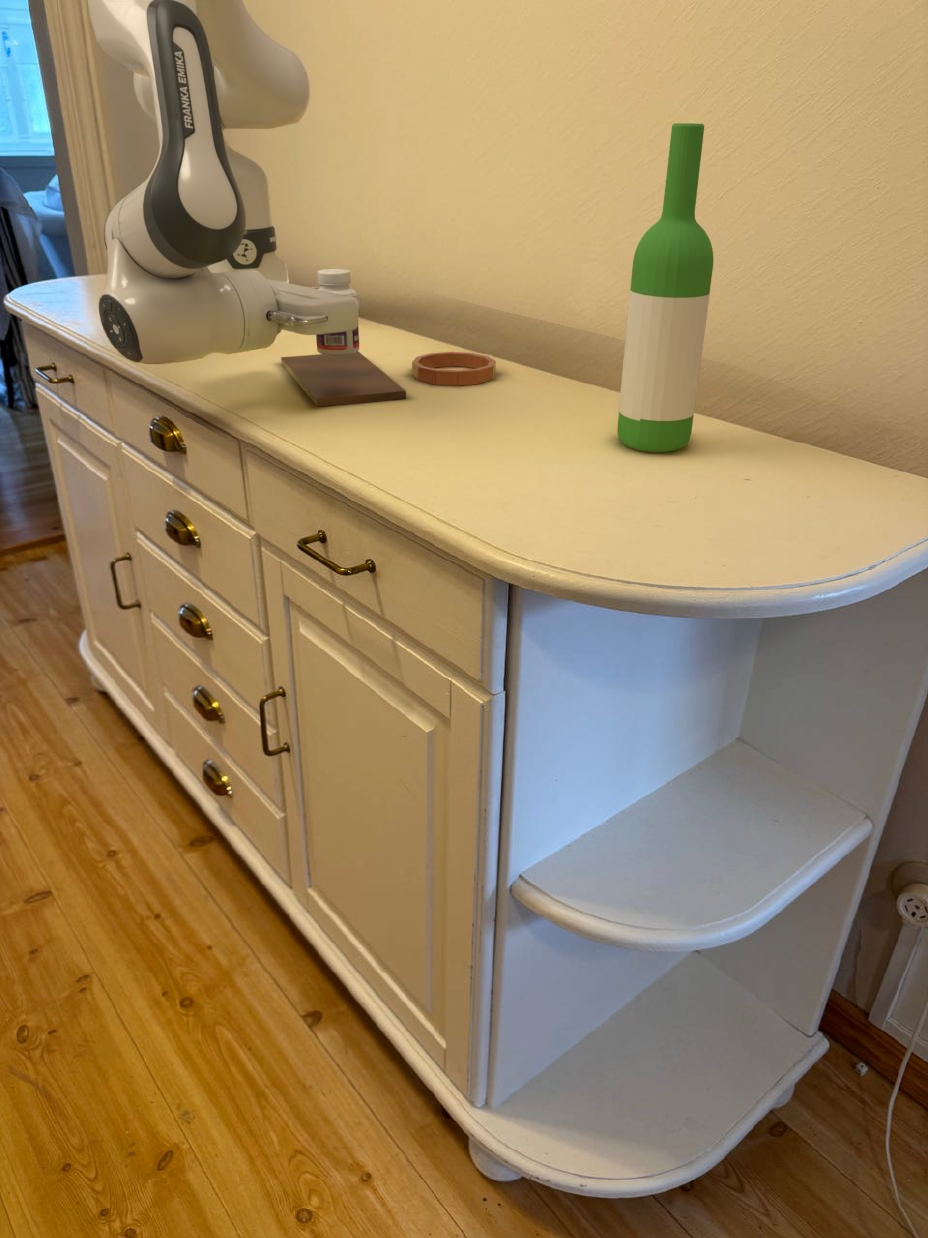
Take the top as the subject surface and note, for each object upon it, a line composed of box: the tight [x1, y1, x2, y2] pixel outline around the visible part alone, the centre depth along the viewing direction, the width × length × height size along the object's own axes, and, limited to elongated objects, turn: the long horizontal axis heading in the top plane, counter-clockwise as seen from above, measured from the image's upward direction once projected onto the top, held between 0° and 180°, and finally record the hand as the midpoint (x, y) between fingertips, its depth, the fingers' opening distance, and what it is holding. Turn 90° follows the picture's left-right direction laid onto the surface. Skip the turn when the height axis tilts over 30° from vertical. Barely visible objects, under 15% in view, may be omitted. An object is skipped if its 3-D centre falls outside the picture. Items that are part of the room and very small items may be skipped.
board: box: [280, 351, 407, 408], centre depth 120 cm, size 22×11×1 cm, turn 21°
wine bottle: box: [616, 122, 714, 453], centre depth 91 cm, size 8×8×30 cm
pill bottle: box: [315, 268, 360, 356], centre depth 116 cm, size 5×5×10 cm
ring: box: [411, 351, 497, 387], centre depth 122 cm, size 11×11×2 cm
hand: (341, 297), depth 115 cm, fingers closed on pill bottle, 5 cm apart
